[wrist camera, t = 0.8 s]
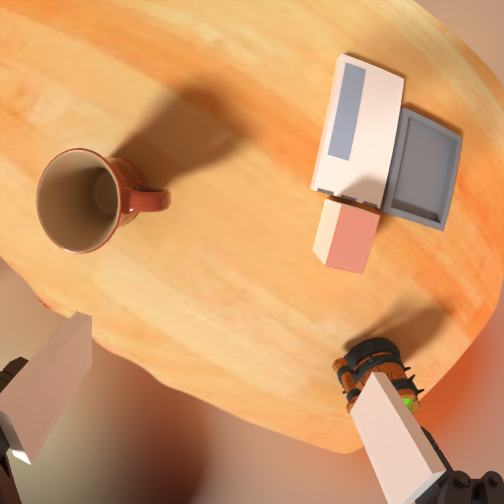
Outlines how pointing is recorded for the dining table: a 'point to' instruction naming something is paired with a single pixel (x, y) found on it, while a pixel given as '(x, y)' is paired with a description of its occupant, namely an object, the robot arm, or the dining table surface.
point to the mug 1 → (92, 198)
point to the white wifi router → (358, 132)
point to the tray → (421, 171)
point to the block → (345, 236)
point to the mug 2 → (375, 360)
